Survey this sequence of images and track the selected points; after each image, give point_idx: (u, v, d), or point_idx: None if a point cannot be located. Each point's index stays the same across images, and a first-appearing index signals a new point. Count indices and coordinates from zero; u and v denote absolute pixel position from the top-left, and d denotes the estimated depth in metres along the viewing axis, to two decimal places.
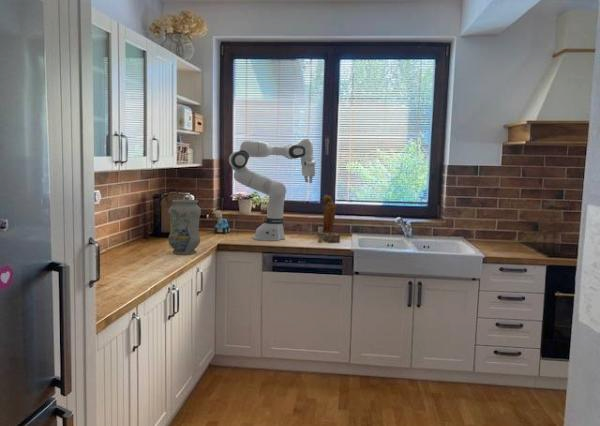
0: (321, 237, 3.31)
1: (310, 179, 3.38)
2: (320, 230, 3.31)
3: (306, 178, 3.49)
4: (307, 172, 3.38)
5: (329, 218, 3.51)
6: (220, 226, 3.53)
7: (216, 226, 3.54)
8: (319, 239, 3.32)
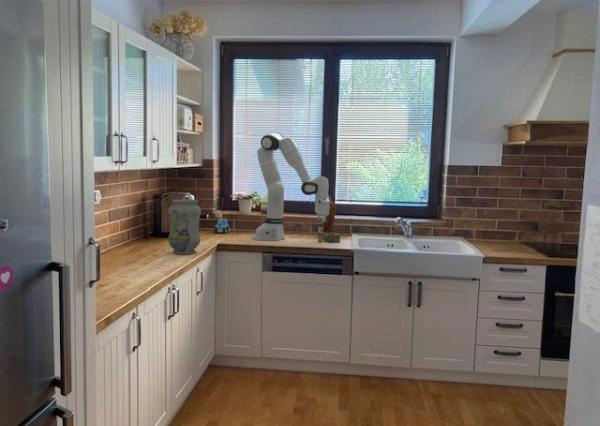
0: (321, 237, 3.31)
1: (323, 218, 3.25)
2: (320, 230, 3.31)
3: (319, 216, 3.36)
4: (321, 210, 3.26)
5: (329, 218, 3.51)
6: (220, 226, 3.53)
7: (216, 226, 3.54)
8: (319, 239, 3.32)
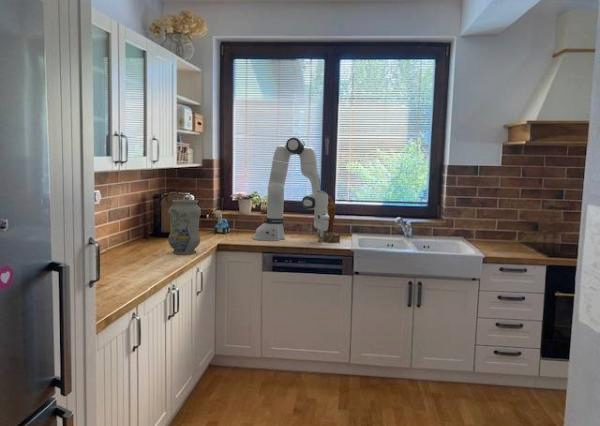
0: (321, 237, 3.32)
1: (321, 232, 3.29)
2: None
3: None
4: (320, 225, 3.27)
5: (329, 218, 3.51)
6: (220, 226, 3.53)
7: (216, 226, 3.54)
8: (319, 239, 3.32)
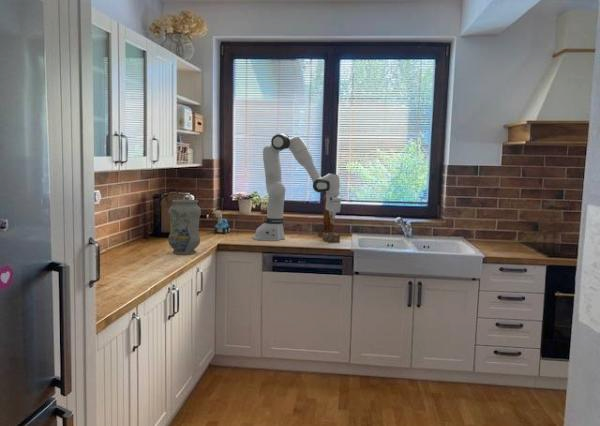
0: (333, 219, 3.34)
1: (333, 214, 3.32)
2: None
3: None
4: (332, 207, 3.30)
5: (329, 218, 3.51)
6: (220, 226, 3.53)
7: (216, 226, 3.54)
8: (331, 221, 3.35)
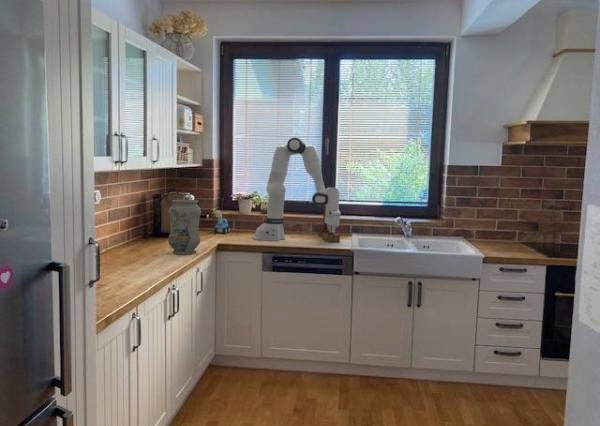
0: None
1: (333, 229, 3.31)
2: (331, 229, 3.35)
3: (329, 226, 3.41)
4: (331, 221, 3.31)
5: None
6: (220, 226, 3.53)
7: (216, 226, 3.54)
8: None
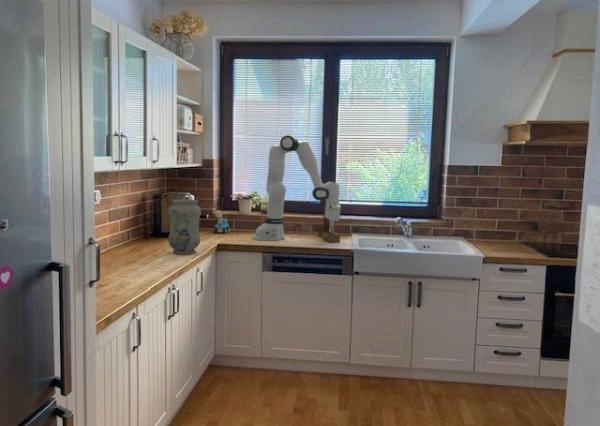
0: None
1: (332, 222, 3.34)
2: (331, 229, 3.35)
3: (331, 221, 3.37)
4: (331, 216, 3.30)
5: None
6: (220, 226, 3.53)
7: (216, 226, 3.54)
8: None
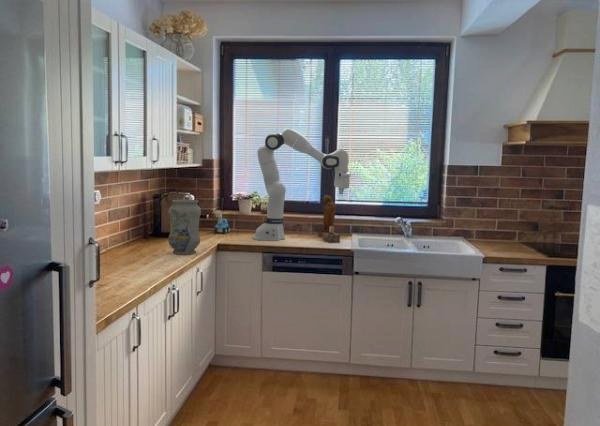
0: None
1: (341, 190, 3.34)
2: (331, 229, 3.35)
3: (340, 190, 3.37)
4: (341, 183, 3.30)
5: (329, 218, 3.51)
6: (220, 226, 3.53)
7: (216, 226, 3.54)
8: None
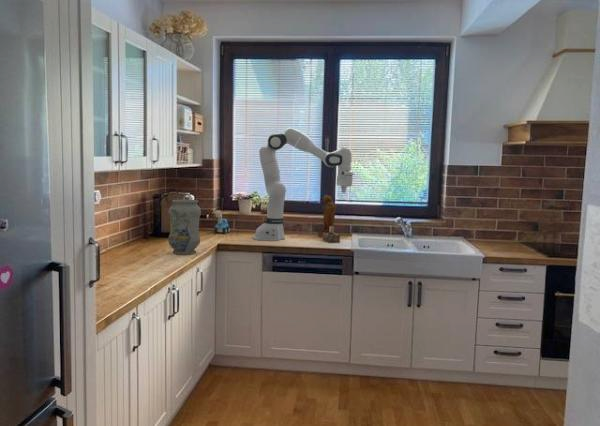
0: None
1: (344, 189, 3.35)
2: (331, 229, 3.35)
3: None
4: (344, 182, 3.31)
5: (329, 218, 3.51)
6: (220, 226, 3.53)
7: (216, 226, 3.54)
8: None
